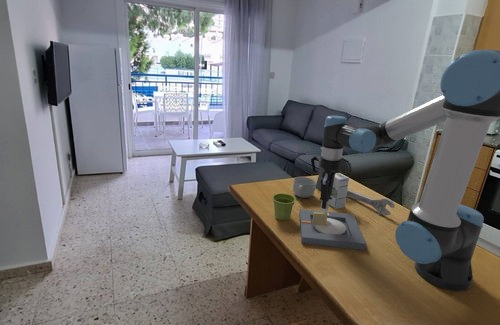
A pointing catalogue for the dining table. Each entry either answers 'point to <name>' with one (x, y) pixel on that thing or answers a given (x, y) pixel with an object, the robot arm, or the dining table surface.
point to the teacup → (304, 187)
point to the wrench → (373, 202)
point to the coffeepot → (321, 170)
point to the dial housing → (347, 240)
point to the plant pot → (283, 205)
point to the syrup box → (339, 191)
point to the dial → (327, 224)
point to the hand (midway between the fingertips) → (323, 214)
